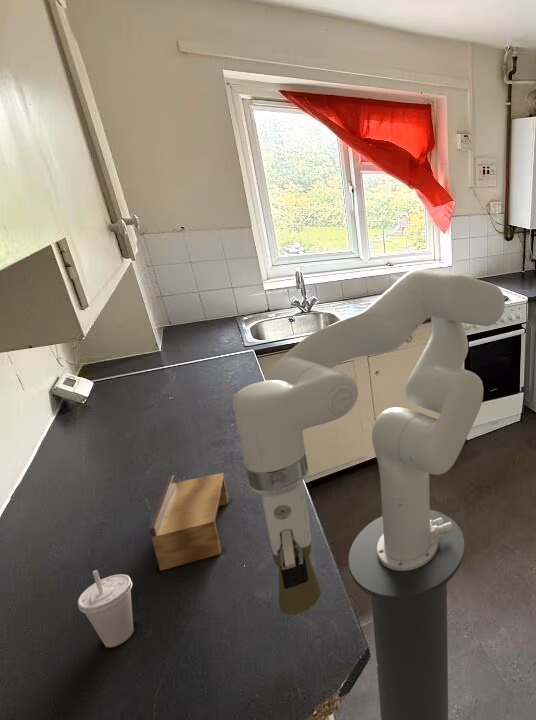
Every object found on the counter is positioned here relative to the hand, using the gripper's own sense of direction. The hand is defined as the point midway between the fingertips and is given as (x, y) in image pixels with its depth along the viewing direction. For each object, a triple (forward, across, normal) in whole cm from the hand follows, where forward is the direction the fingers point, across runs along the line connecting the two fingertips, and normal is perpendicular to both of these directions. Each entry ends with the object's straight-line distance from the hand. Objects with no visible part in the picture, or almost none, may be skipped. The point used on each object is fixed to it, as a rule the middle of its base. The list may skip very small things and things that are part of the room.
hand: (295, 567), depth 65 cm
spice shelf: (+16, +36, +20) cm, 44 cm away
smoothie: (+16, +14, +28) cm, 35 cm away
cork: (+6, 0, 0) cm, 6 cm away
